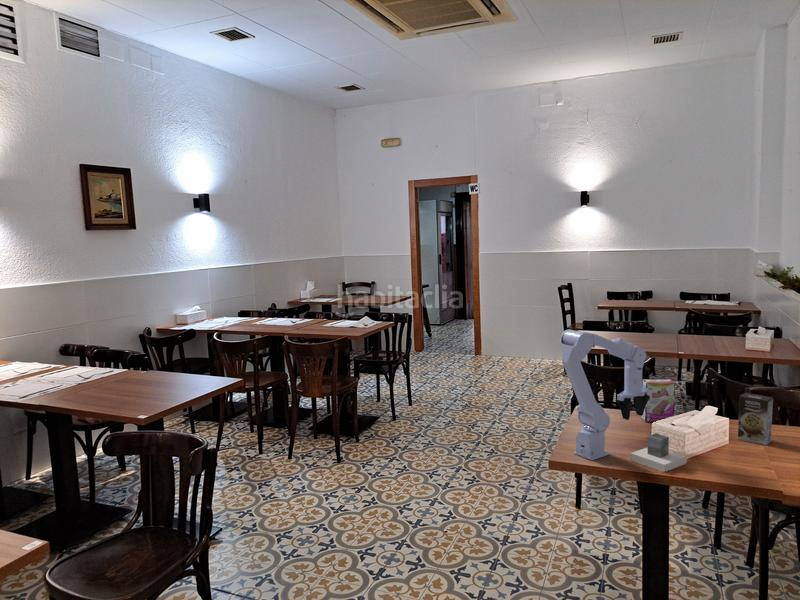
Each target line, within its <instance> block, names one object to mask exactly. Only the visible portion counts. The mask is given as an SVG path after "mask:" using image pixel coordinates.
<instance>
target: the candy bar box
mask: <svg viewBox="0 0 800 600" xmlns="http://www.w3.org/2000/svg"><path fill="white" fill-rule="evenodd" d="M642 388H647V389H648V394H646V395H649V396H650V399H649V400H648V402H647V404H646V406H645V410H644V413H643V416H641V420H643V422H645V423H655V422H654V421H657V420H661V419H665V418H667V417H669V416H673V415H674V416H675V400H676V399H675V396H676V394H675V393H676V389H675V388H676V381H675V382H674V381H673V380H672V379H642Z"/></svg>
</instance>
